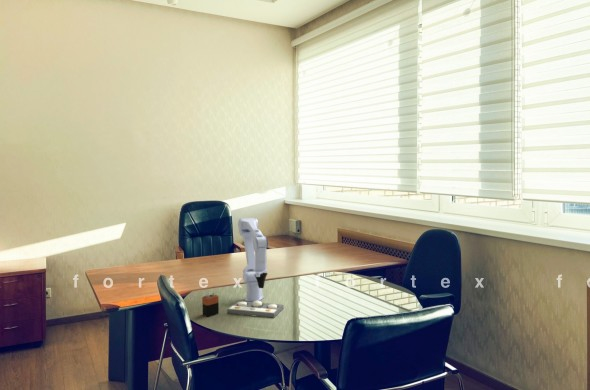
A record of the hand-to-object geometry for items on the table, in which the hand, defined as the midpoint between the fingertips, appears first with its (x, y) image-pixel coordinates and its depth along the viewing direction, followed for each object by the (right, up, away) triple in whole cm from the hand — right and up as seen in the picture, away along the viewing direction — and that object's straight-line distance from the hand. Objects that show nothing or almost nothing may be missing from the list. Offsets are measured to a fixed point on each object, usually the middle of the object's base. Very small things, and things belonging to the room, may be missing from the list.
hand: (261, 287), depth 239 cm
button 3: (+6, -10, -4) cm, 12 cm away
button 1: (-10, -10, +1) cm, 14 cm away
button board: (-2, -11, -4) cm, 11 cm away
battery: (-24, -12, -9) cm, 28 cm away
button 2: (-2, -9, -2) cm, 9 cm away
